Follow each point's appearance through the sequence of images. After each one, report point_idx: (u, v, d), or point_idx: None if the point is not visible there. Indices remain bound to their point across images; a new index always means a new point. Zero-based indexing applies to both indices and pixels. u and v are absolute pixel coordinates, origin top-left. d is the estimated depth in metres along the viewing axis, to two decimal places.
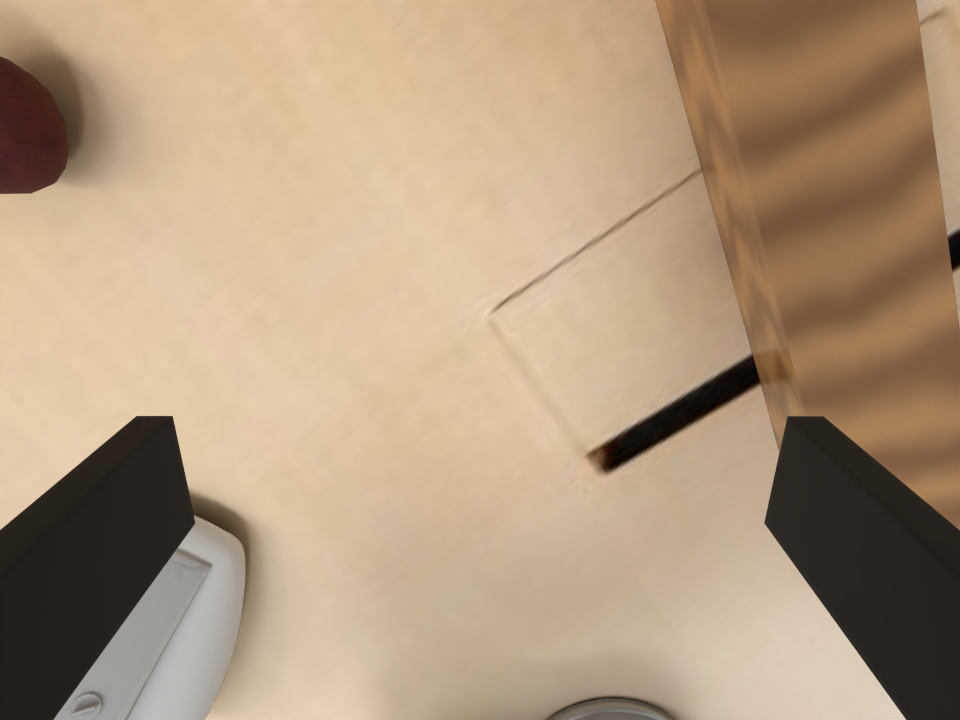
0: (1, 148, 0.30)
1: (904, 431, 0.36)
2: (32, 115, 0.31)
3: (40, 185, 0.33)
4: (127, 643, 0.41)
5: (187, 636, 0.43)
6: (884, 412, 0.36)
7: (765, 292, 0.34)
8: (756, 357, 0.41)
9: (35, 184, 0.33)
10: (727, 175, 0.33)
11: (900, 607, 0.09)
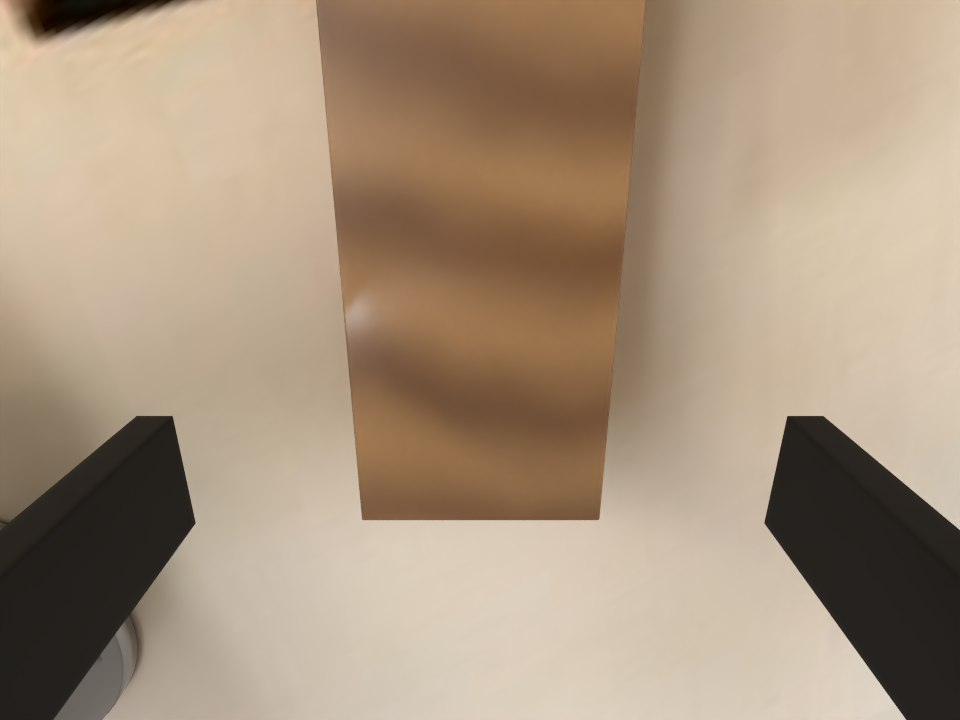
0: None
1: None
2: None
3: None
4: None
5: None
6: None
7: None
8: None
9: None
10: None
11: (899, 607, 0.09)
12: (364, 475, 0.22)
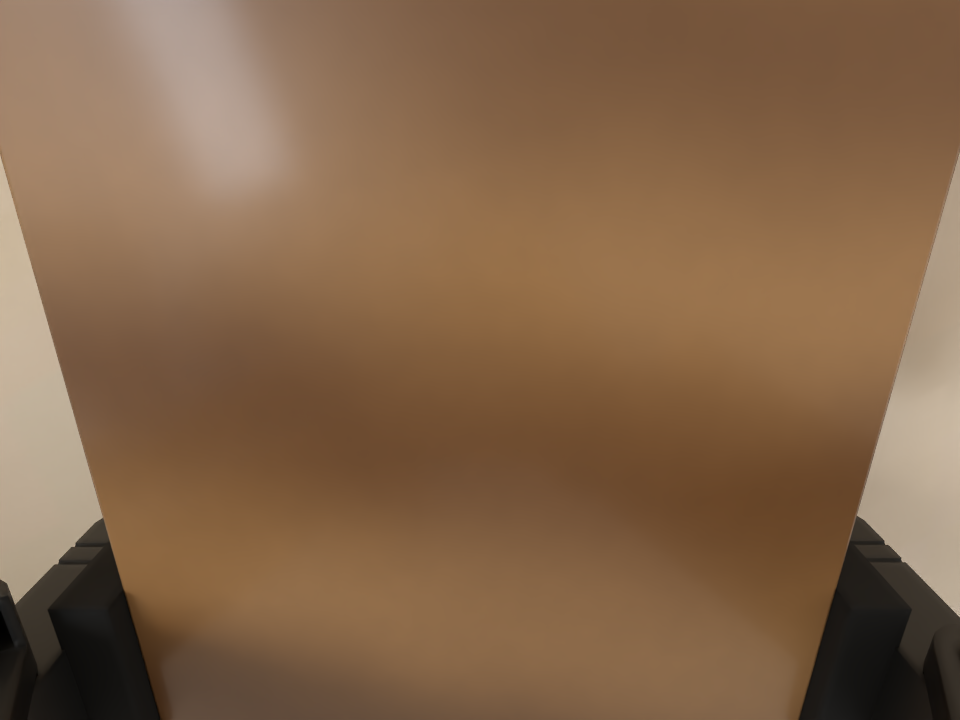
0: None
1: None
2: None
3: None
4: None
5: None
6: None
7: None
8: None
9: None
10: None
11: None
12: None
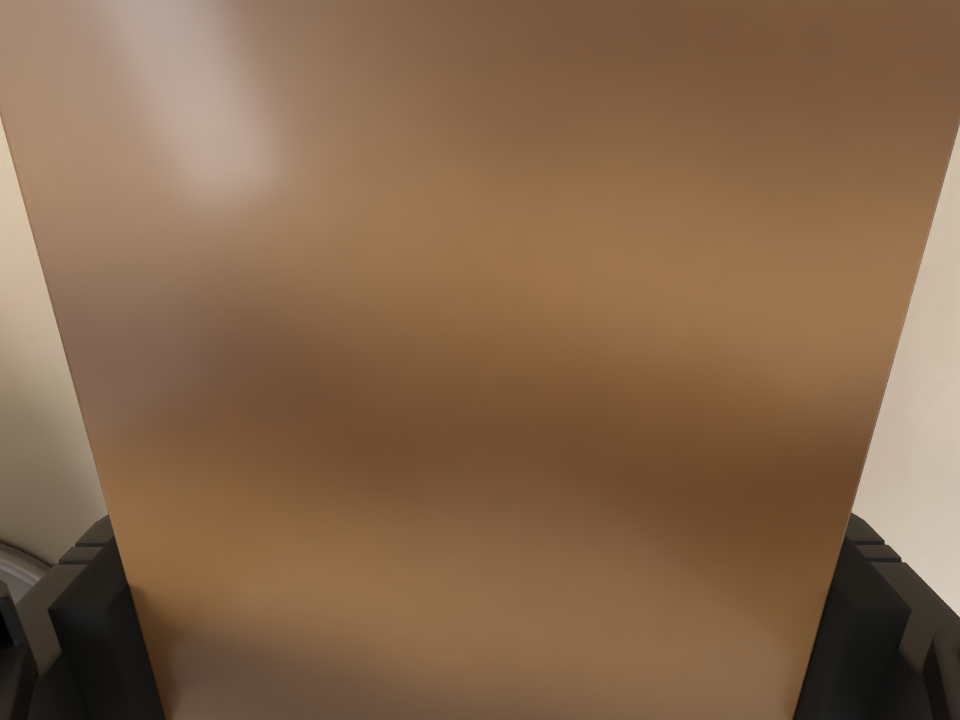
0: None
1: None
2: None
3: None
4: None
5: None
6: None
7: None
8: None
9: None
10: None
11: None
12: None
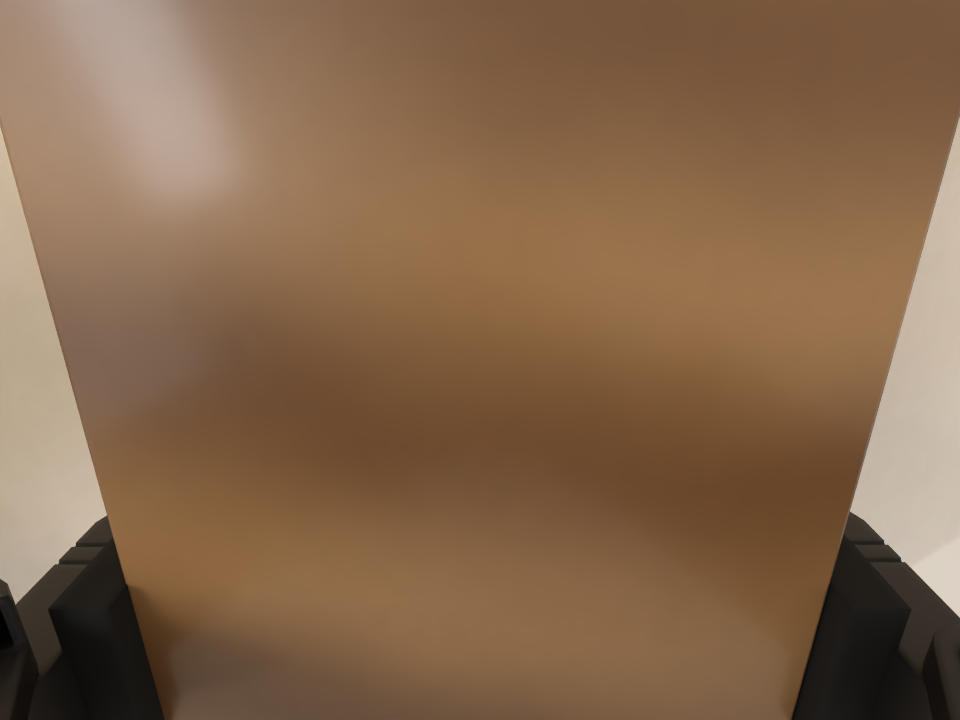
0: None
1: None
2: None
3: None
4: None
5: None
6: None
7: None
8: None
9: None
10: None
11: None
12: None
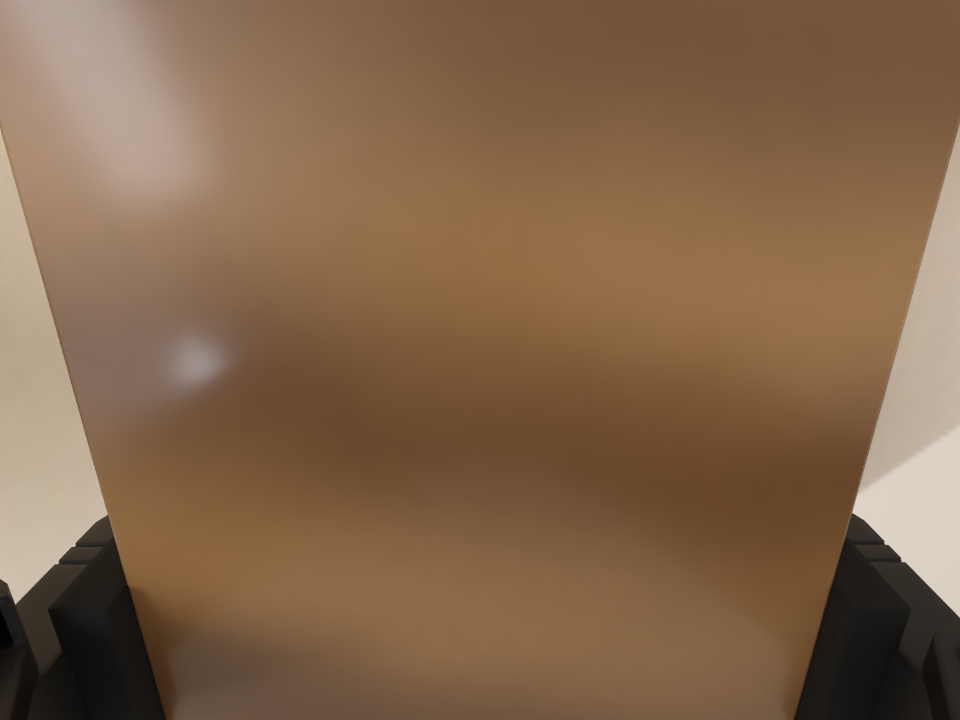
0: None
1: None
2: None
3: None
4: None
5: None
6: None
7: None
8: None
9: None
10: None
11: None
12: None
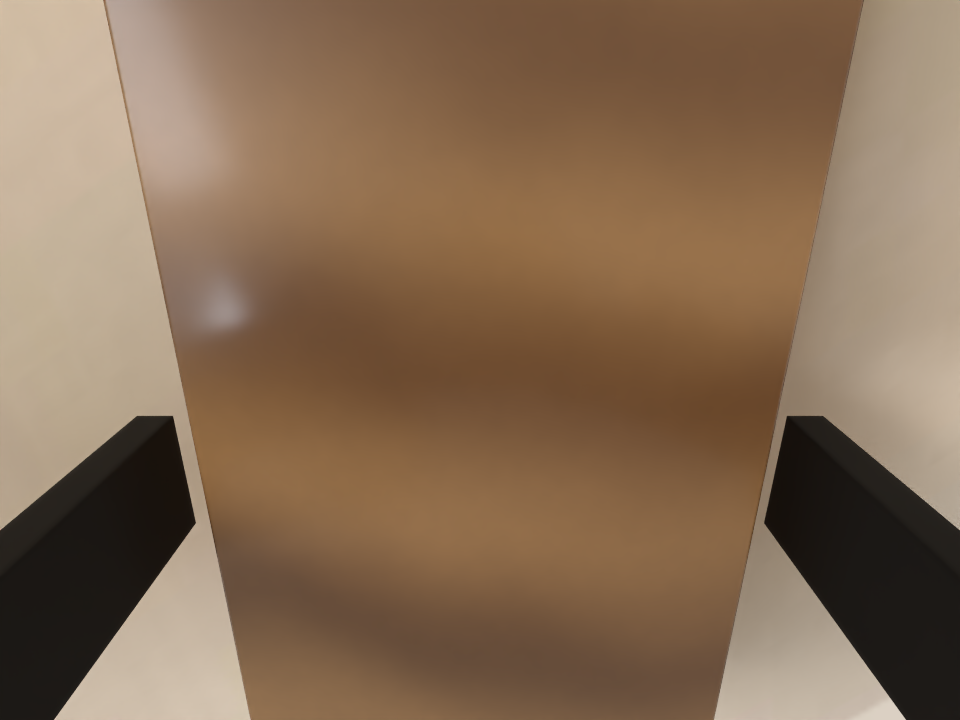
0: None
1: None
2: None
3: None
4: None
5: None
6: None
7: None
8: None
9: None
10: None
11: (898, 607, 0.09)
12: None
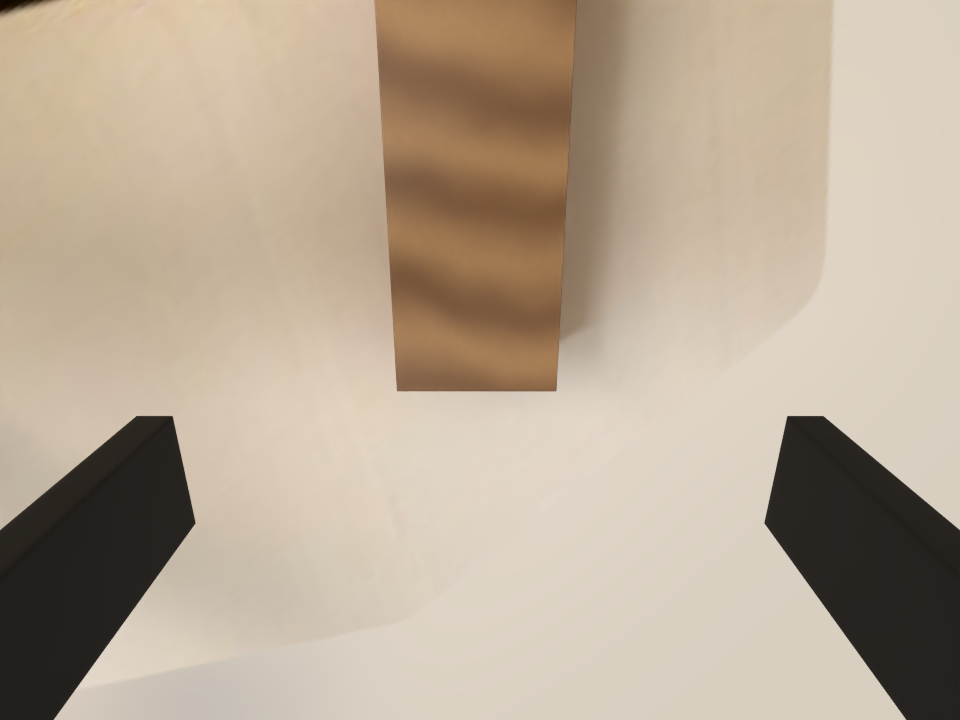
0: None
1: (490, 49, 0.28)
2: None
3: None
4: None
5: None
6: (471, 5, 0.27)
7: None
8: None
9: None
10: None
11: (898, 607, 0.09)
12: (399, 358, 0.33)
